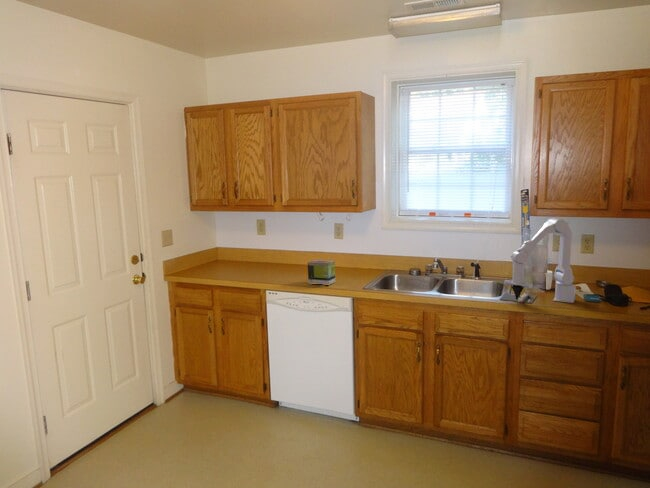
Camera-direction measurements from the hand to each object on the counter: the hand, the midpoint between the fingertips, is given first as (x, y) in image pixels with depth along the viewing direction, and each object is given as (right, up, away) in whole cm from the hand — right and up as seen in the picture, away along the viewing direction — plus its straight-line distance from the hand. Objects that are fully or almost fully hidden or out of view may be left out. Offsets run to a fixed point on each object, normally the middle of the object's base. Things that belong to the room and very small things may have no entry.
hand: (517, 299), depth 251 cm
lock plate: (+3, 0, +7) cm, 8 cm away
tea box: (-104, +3, +55) cm, 118 cm away
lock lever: (+4, 0, +2) cm, 5 cm away
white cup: (+26, +3, +25) cm, 37 cm away
